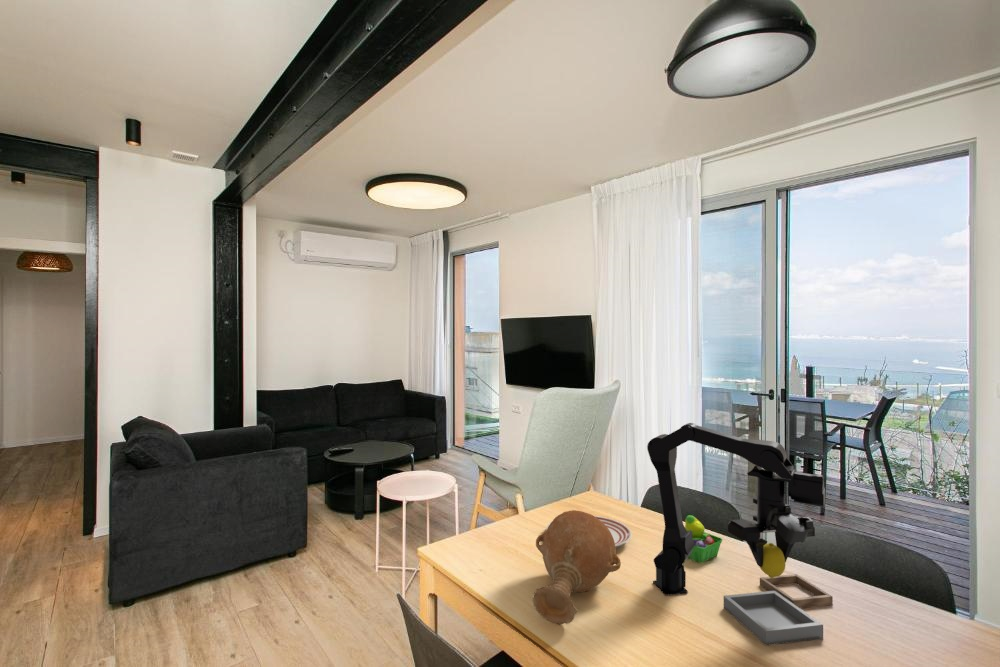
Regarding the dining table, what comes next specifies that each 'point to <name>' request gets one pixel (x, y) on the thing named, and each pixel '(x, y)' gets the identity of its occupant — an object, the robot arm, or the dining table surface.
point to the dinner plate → (616, 530)
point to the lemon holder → (817, 600)
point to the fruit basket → (701, 541)
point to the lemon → (773, 560)
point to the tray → (773, 618)
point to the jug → (573, 562)
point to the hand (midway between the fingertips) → (771, 565)
